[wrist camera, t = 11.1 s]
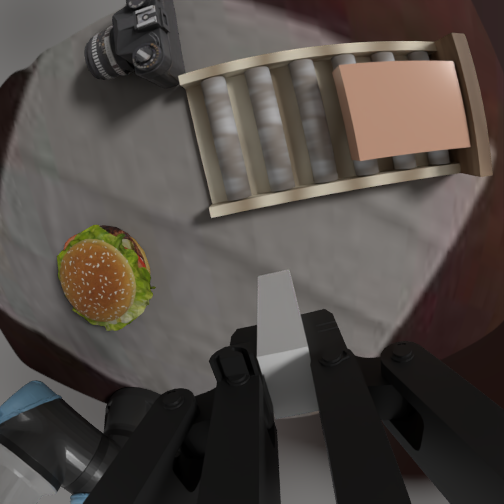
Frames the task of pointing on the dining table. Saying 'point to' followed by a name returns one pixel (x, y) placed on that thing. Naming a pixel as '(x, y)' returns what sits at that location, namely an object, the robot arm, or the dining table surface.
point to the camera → (139, 44)
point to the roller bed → (294, 127)
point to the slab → (401, 108)
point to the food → (105, 276)
